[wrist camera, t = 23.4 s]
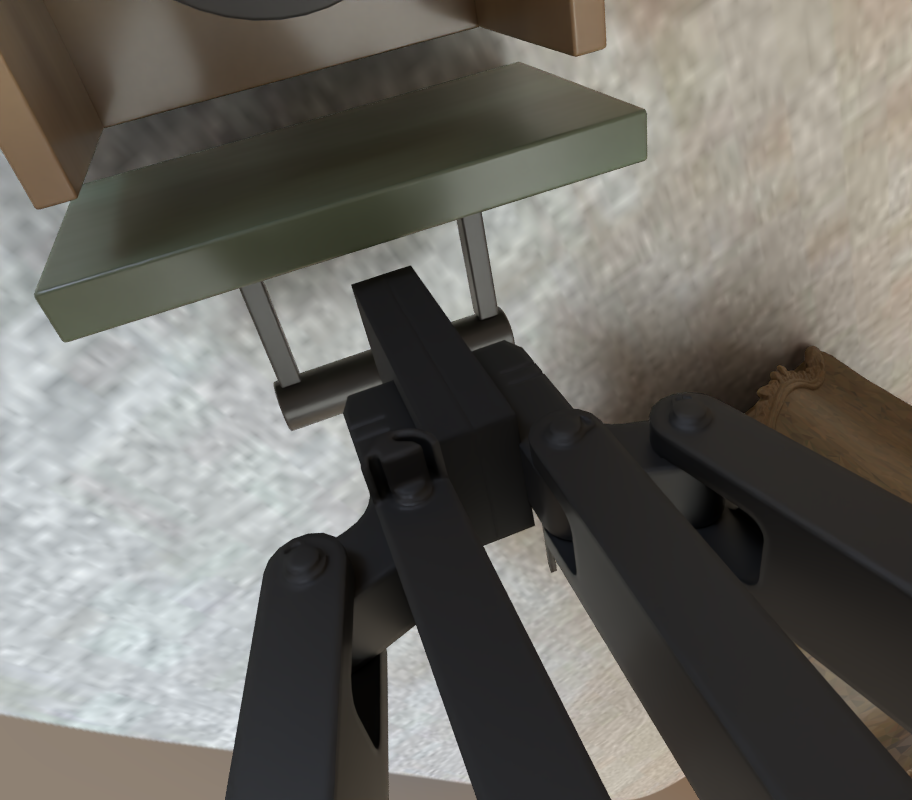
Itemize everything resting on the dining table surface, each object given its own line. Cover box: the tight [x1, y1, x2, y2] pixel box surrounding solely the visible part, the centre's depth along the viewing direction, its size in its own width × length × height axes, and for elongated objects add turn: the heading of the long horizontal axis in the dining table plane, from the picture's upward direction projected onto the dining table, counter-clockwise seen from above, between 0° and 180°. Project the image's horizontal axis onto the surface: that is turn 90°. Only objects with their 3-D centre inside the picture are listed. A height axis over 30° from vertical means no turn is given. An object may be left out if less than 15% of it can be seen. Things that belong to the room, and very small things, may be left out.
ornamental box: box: [744, 346, 912, 778], centre depth 34 cm, size 35×18×18 cm, turn 41°
